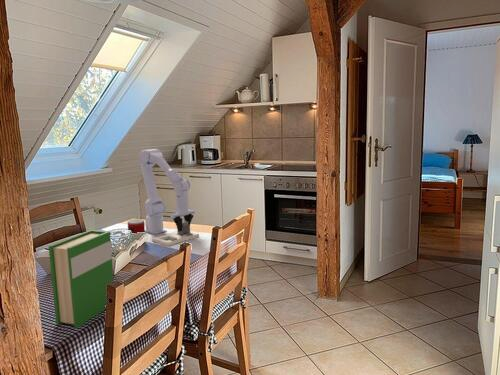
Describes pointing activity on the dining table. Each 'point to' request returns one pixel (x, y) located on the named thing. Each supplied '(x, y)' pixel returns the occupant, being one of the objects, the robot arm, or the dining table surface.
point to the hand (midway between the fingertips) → (183, 229)
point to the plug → (184, 228)
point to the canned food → (136, 225)
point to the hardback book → (81, 276)
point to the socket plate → (174, 238)
